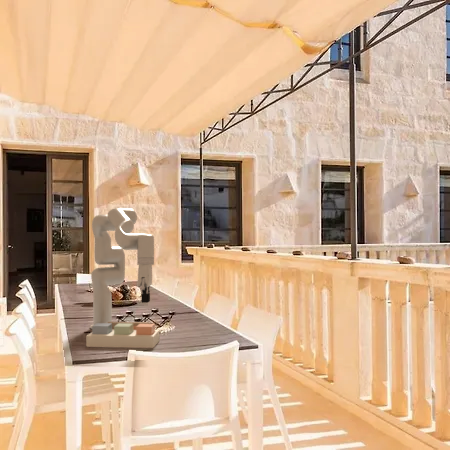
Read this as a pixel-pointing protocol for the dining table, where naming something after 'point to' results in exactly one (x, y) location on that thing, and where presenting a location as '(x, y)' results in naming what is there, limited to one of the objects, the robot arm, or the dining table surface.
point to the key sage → (123, 328)
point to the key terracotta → (145, 329)
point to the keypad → (123, 338)
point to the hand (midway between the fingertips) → (145, 301)
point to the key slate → (102, 328)
